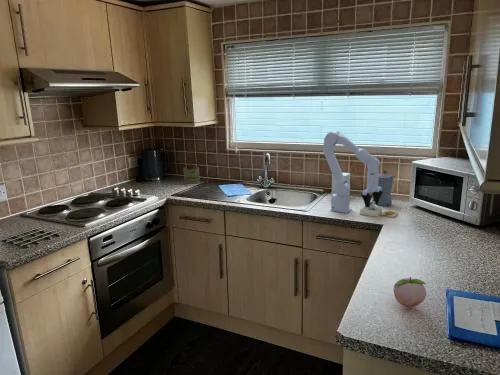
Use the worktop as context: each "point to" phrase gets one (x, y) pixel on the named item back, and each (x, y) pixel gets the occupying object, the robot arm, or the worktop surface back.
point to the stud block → (389, 214)
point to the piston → (191, 176)
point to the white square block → (346, 175)
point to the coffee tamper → (372, 205)
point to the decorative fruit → (409, 292)
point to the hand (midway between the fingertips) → (371, 205)
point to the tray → (371, 211)
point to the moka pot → (385, 189)
